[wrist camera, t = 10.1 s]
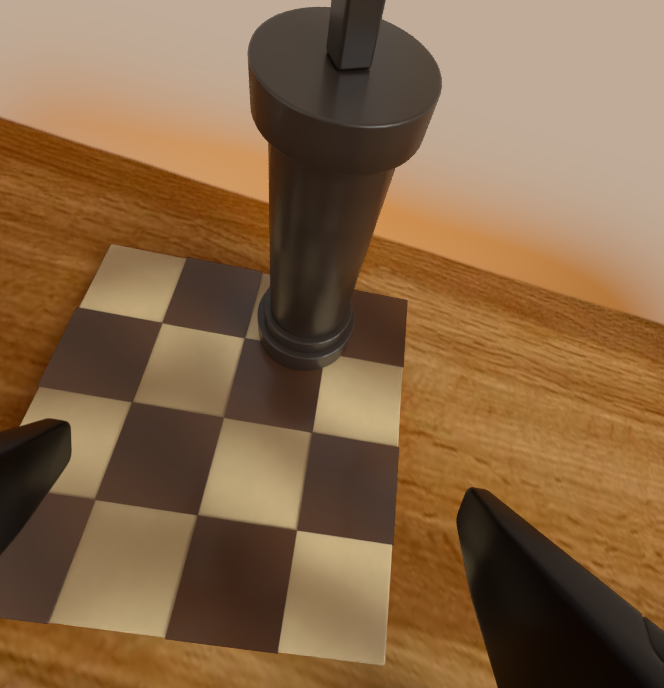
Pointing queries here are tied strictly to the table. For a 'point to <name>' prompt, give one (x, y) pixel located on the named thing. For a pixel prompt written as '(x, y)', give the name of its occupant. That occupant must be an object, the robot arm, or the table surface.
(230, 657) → the table surface
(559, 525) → the table surface
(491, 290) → the table surface
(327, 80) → the chess king
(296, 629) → the chessboard
